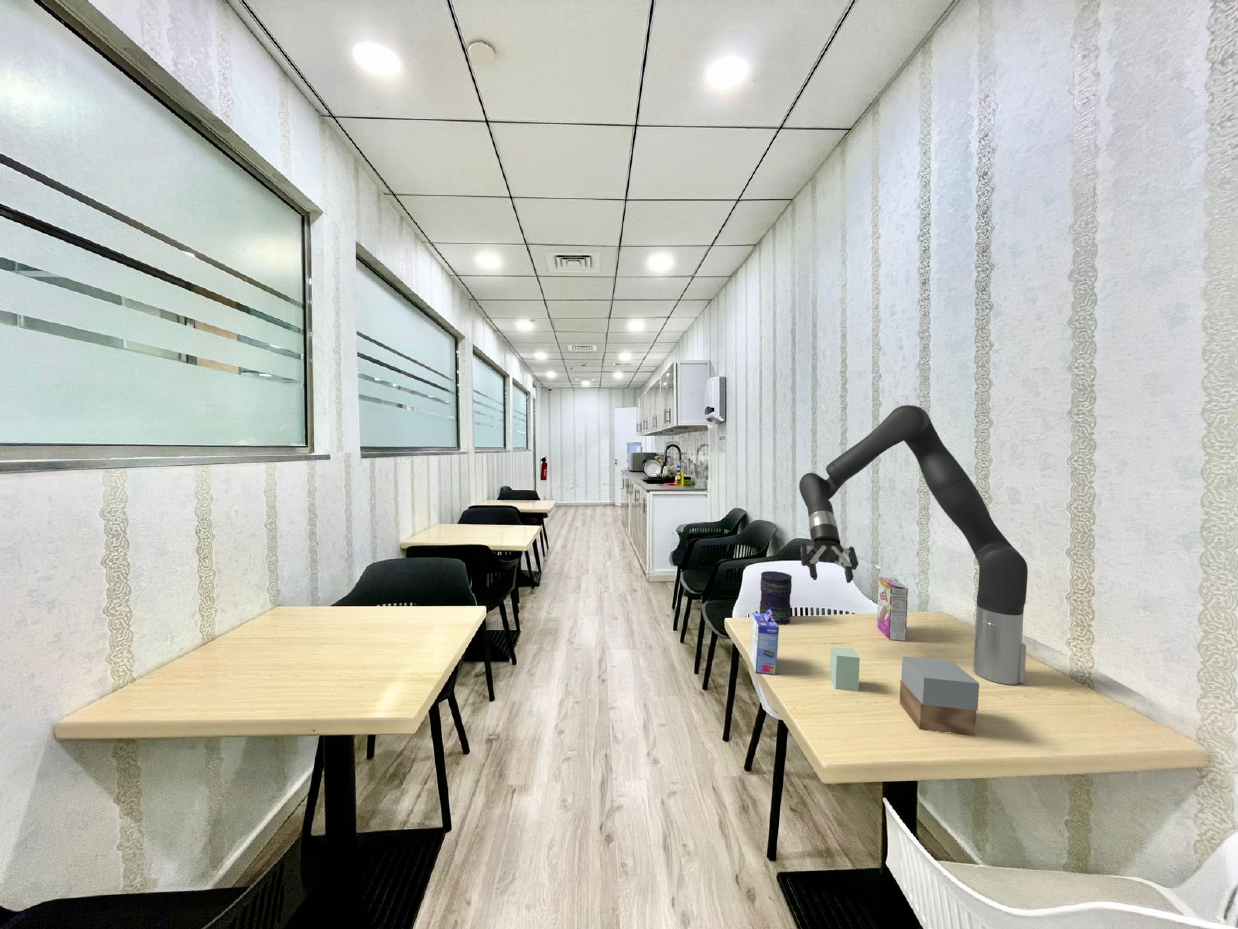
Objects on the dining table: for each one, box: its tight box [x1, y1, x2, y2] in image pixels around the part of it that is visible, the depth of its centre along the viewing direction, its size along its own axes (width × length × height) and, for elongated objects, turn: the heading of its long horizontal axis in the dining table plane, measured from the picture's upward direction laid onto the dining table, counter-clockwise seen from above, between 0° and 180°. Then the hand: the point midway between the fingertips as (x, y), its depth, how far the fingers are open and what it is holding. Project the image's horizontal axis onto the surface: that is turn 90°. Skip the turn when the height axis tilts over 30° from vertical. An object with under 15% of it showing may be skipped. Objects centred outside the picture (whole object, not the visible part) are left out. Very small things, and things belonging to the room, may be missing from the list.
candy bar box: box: [876, 576, 909, 642], centre depth 145 cm, size 11×5×16 cm, turn 168°
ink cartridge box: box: [748, 609, 780, 675], centre depth 121 cm, size 10×6×14 cm, turn 174°
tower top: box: [900, 655, 980, 712], centre depth 98 cm, size 10×10×6 cm
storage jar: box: [759, 570, 793, 626], centre depth 155 cm, size 10×10×15 cm
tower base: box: [899, 680, 977, 737], centre depth 98 cm, size 10×10×6 cm
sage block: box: [829, 646, 861, 692], centre depth 112 cm, size 5×5×8 cm
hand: (832, 580), depth 124 cm, fingers open, 8 cm apart
